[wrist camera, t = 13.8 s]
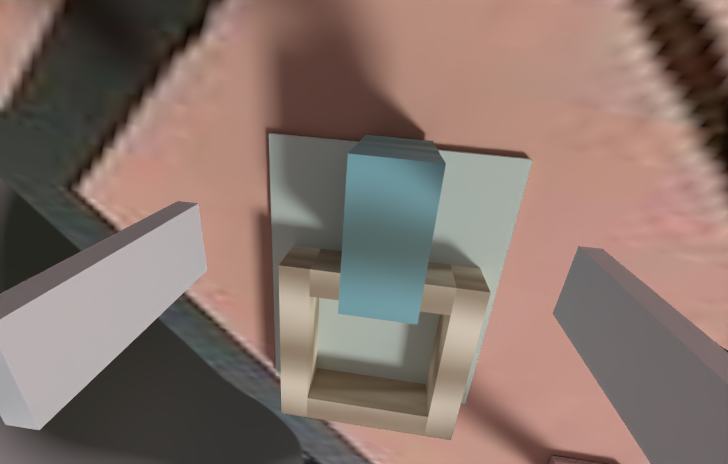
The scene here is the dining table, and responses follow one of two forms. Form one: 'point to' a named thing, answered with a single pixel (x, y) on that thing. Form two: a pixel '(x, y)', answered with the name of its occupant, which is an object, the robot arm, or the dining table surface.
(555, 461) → the stand
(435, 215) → the sponge holder
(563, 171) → the dining table surface
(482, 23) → the dining table surface
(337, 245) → the mat
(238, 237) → the dining table surface
